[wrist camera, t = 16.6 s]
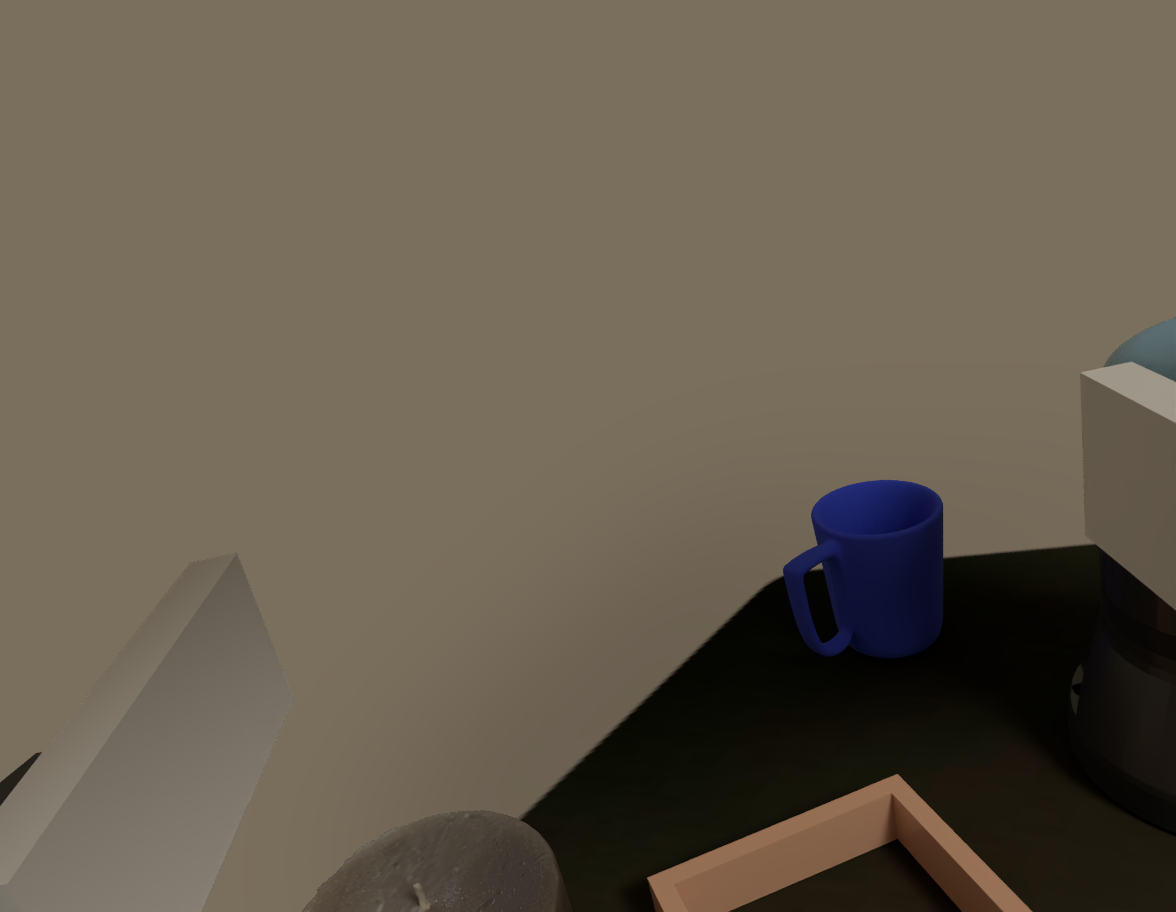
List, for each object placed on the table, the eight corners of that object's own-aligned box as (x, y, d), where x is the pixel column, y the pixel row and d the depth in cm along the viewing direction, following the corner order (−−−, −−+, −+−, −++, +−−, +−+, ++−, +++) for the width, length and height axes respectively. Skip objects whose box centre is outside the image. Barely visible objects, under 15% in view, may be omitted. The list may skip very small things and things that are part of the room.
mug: (764, 667, 65) (741, 538, 61) (884, 592, 70) (869, 469, 67) (855, 718, 58) (835, 576, 55) (981, 630, 64) (970, 496, 60)
